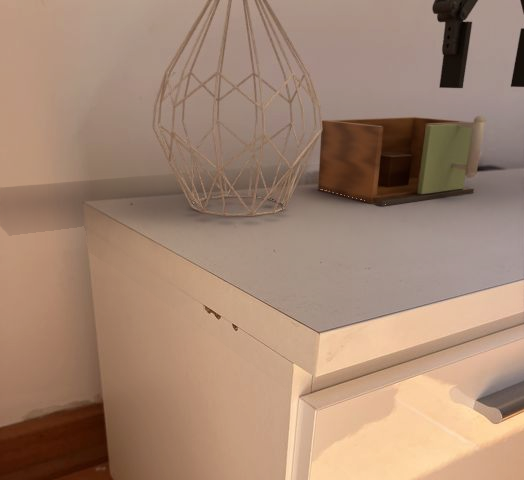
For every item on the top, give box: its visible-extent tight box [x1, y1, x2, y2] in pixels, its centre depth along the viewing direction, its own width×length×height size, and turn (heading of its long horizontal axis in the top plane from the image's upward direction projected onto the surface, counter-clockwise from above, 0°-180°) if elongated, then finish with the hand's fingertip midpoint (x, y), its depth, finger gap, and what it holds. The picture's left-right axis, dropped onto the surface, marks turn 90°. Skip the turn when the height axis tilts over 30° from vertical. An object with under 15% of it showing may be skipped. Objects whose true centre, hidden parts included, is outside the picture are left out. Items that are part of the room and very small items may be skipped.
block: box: [378, 152, 412, 187], centre depth 79 cm, size 4×4×4 cm
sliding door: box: [417, 115, 487, 195], centre depth 72 cm, size 4×8×10 cm, turn 124°
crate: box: [317, 116, 475, 207], centre depth 77 cm, size 12×18×9 cm
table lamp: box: [152, 0, 323, 217], centre depth 60 cm, size 22×22×40 cm
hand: (488, 87), depth 68 cm, fingers open, 13 cm apart
